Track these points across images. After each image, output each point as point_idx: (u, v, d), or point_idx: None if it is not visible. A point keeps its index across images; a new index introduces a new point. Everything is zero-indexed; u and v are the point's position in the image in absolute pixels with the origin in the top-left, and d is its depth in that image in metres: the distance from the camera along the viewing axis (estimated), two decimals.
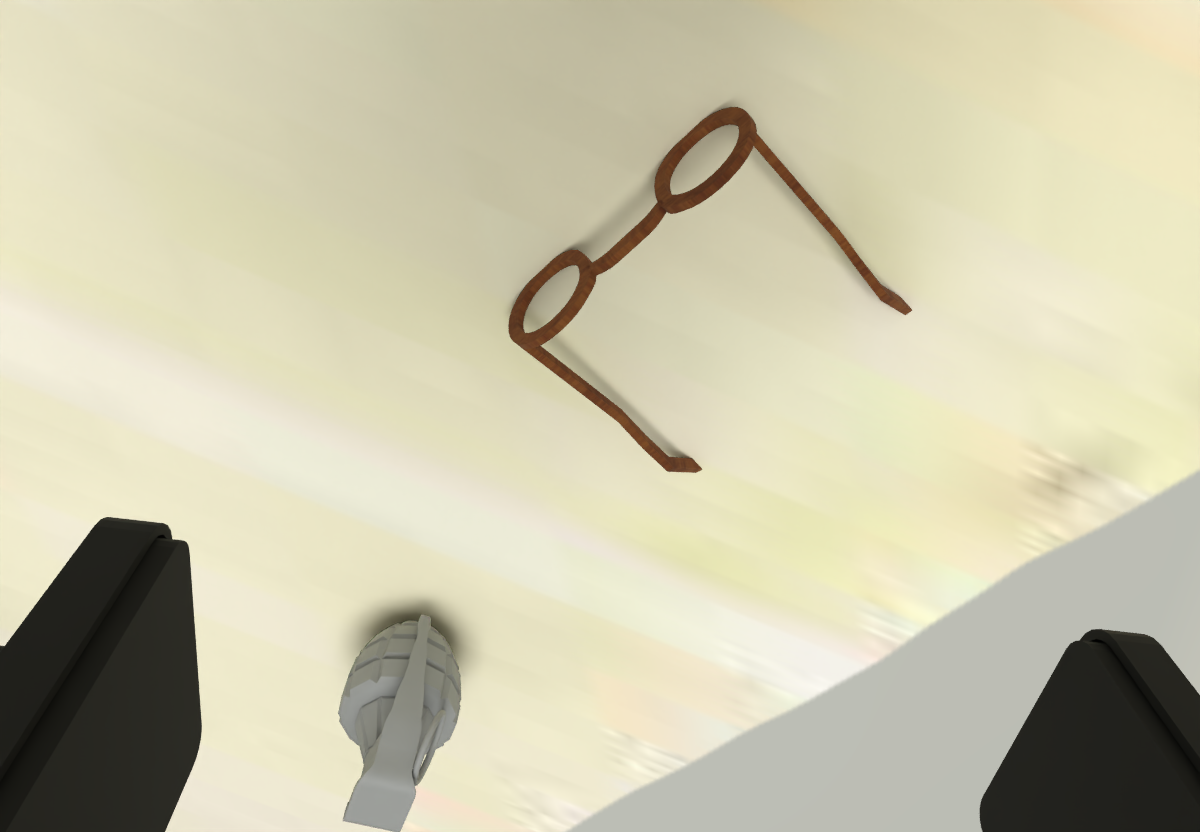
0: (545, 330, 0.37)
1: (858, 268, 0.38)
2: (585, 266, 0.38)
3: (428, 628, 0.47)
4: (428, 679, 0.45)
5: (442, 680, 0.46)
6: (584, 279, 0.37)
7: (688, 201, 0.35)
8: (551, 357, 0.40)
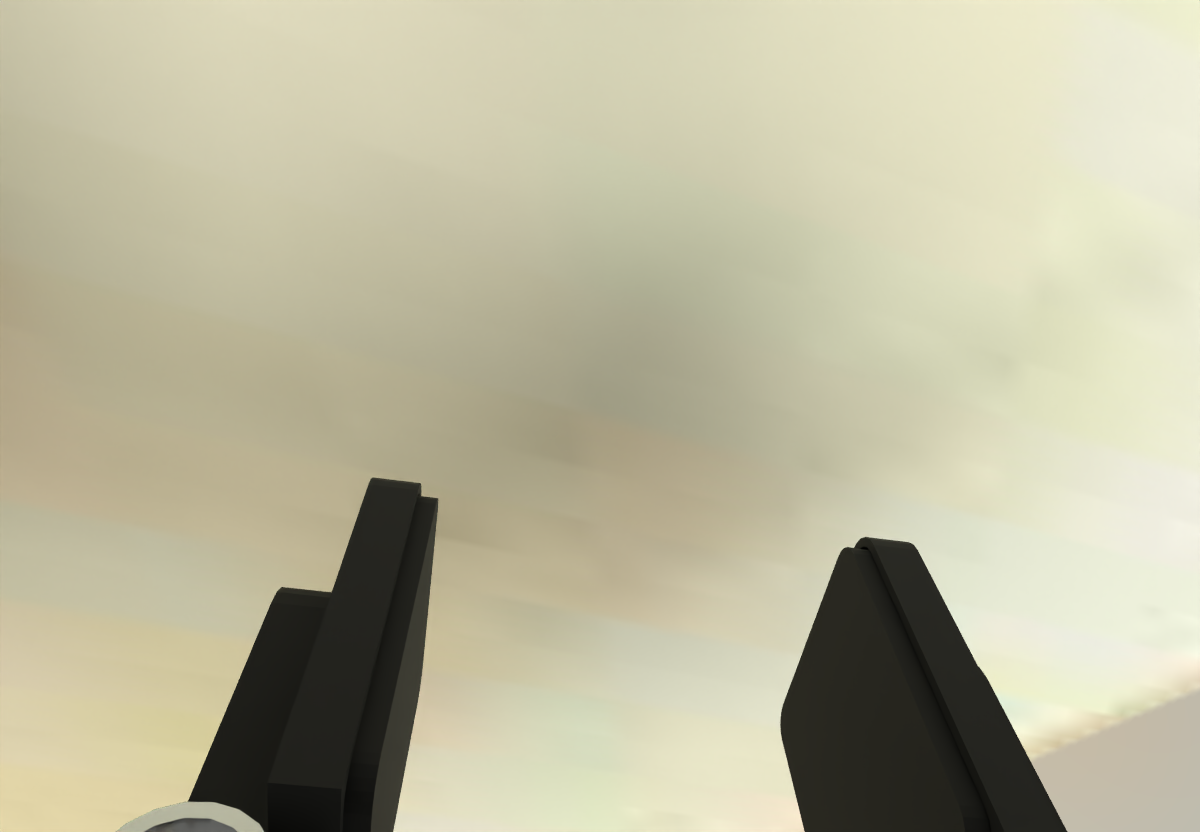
0: None
1: None
2: None
3: None
4: None
5: None
6: None
7: None
8: None
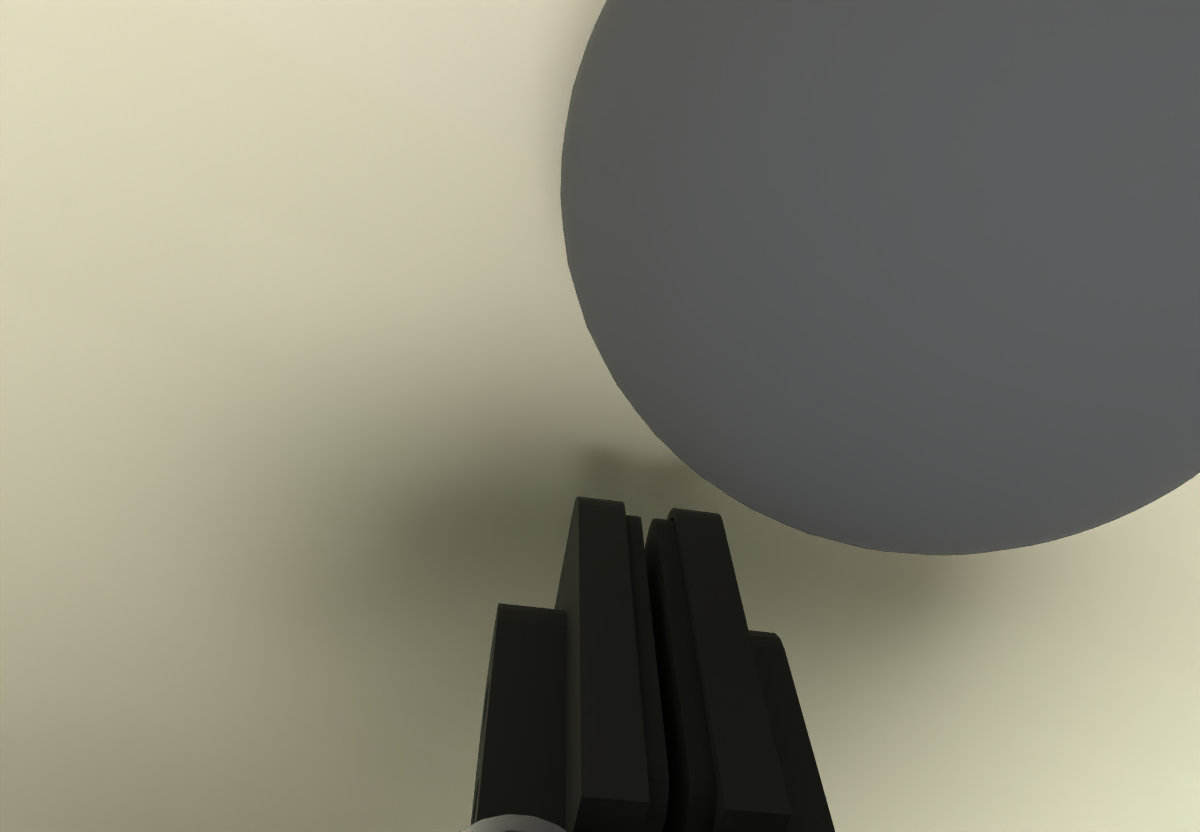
0: None
1: None
2: None
3: None
4: None
5: None
6: None
7: None
8: None
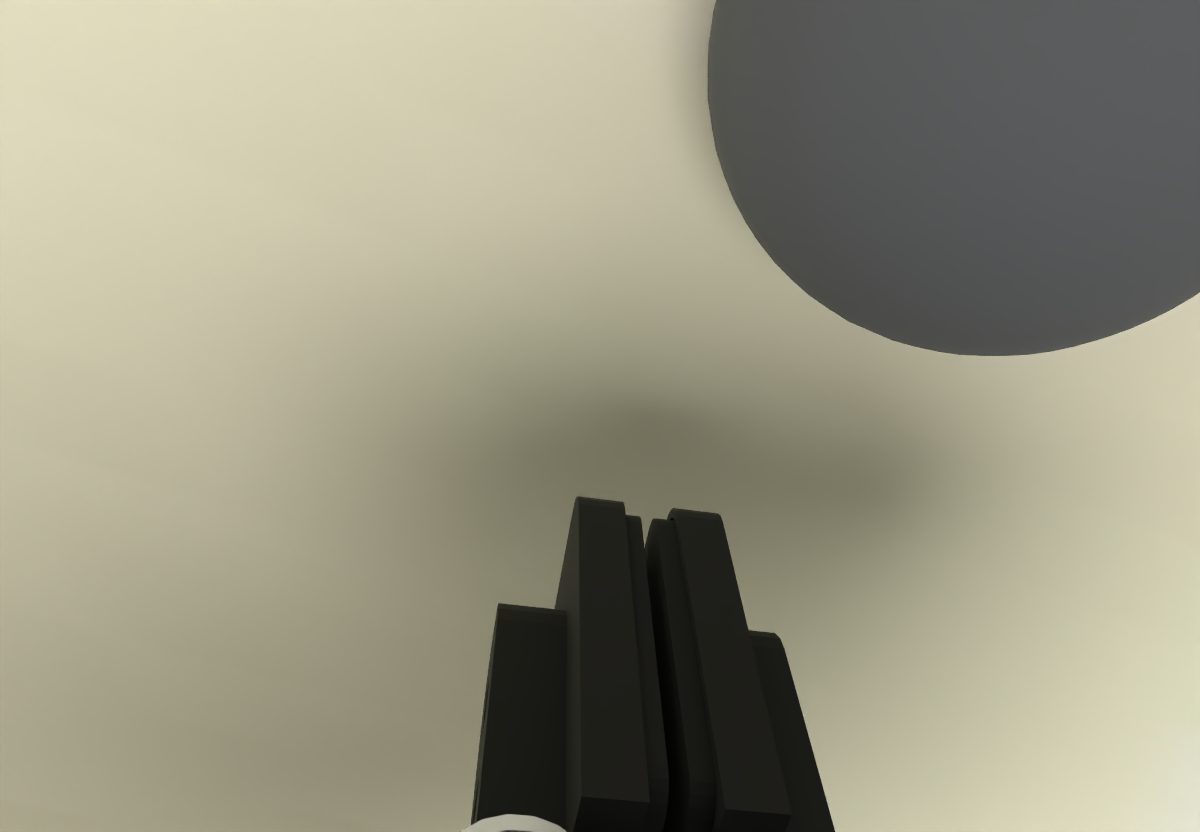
0: None
1: None
2: None
3: None
4: None
5: None
6: None
7: None
8: None
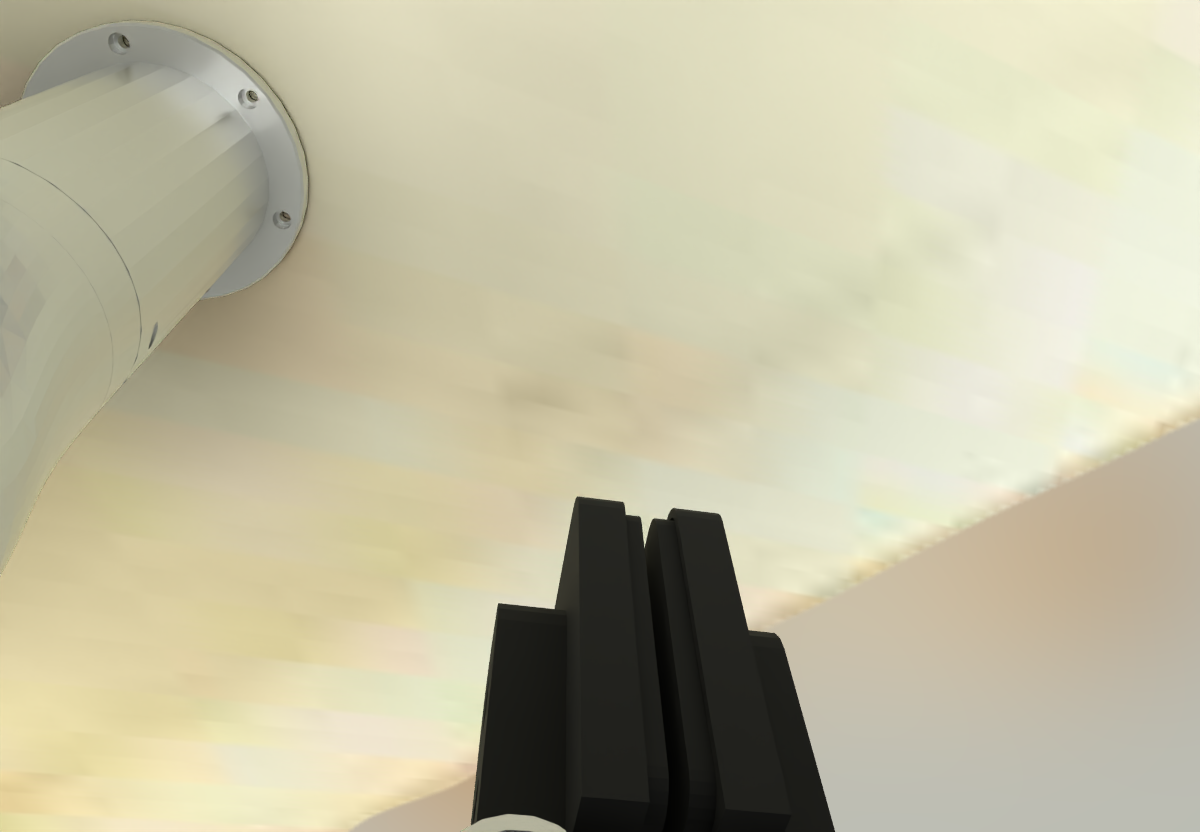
0: None
1: None
2: None
3: None
4: None
5: None
6: None
7: None
8: None
